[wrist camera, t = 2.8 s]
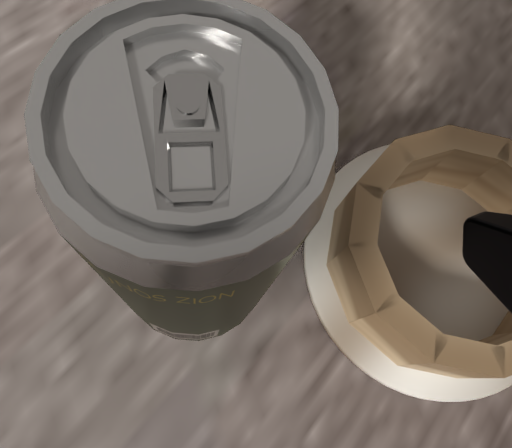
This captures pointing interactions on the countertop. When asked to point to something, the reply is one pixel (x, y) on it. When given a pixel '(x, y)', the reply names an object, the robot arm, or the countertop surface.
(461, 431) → the countertop surface
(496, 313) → the can holder
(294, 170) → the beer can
